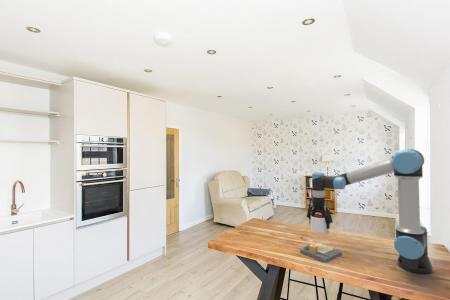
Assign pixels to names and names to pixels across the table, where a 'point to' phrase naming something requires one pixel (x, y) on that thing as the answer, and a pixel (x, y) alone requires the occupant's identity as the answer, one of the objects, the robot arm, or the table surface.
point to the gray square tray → (321, 253)
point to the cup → (318, 223)
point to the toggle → (313, 249)
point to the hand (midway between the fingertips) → (319, 231)
